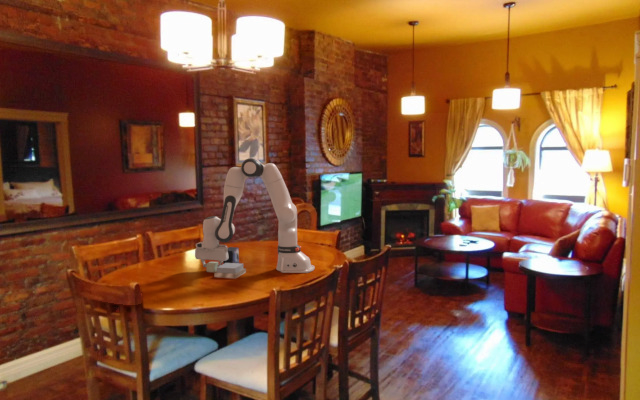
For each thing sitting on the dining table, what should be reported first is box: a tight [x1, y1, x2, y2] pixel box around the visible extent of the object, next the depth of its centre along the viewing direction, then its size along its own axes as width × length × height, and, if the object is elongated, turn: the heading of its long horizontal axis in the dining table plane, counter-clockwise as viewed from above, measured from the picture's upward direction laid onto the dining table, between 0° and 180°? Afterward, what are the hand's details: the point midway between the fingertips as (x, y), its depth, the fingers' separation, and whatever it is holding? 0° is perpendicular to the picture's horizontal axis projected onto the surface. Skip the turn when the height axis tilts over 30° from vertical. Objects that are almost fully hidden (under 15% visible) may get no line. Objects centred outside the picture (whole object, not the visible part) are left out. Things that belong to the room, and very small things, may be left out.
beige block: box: [205, 261, 219, 273], centre depth 267 cm, size 5×5×5 cm
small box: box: [222, 246, 240, 264], centre depth 279 cm, size 11×6×10 cm, turn 168°
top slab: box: [216, 262, 244, 274], centre depth 258 cm, size 11×11×3 cm
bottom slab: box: [213, 267, 247, 279], centre depth 259 cm, size 13×13×3 cm
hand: (212, 267), depth 267 cm, fingers open, 8 cm apart
